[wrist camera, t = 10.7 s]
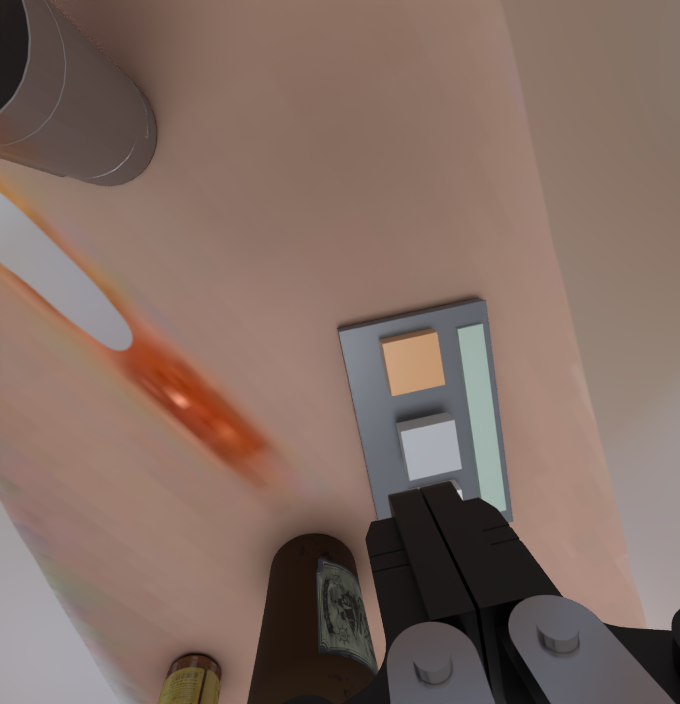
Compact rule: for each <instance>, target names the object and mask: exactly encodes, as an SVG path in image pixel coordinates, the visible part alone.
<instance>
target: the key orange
mask: <svg viewBox="0 0 680 704" xmlns="http://www.w3.org/2000/svg"><path fill="white" fill-rule="evenodd" d="M379 344H380V349H381V354H382V359H383V365H384V370H385V375H386V381H387V386H388V390H389V392H390V394H391V395H392V396H396V395H401V394H405V393H410V392H414V391H419V390H423V389H428V388H432V387H437V386H441V385H445V380H444V373H443V367H442V360H441V354H440V347H439V341H438V334H437V332H436V331H434V330H433V329H431V328H430V329H426V330H421V331H416V332H412V333H407V334H403V335H398V336H394V337H389V338H384V339H380V340H379Z"/></svg>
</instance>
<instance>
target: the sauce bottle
mask: <svg viewBox="0 0 680 704" xmlns="http://www.w3.org/2000/svg"><path fill="white" fill-rule="evenodd" d="M220 674H221V673H220V669H219V667H218V666H217V665H216V664H215V663H214V662H213V661H212V660H211V659H209V658H207V657H205V656H201V655H189V656H186V657H184V658H181V659H179V660H178V661H177V662H175V663H174V664H173V666H172V667H171V668H170V670H169V672H168V674H167V677H166V680H165V682H164V684H163V687H162V691H161V694H160V697H159V701H158V704H218V700H219V694H220Z"/></svg>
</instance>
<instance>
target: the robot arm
mask: <svg viewBox="0 0 680 704" xmlns="http://www.w3.org/2000/svg"><path fill="white" fill-rule="evenodd" d="M156 132H157V129H156V123H155V118H154V115H153V112H152V110H151V107H150V104H149V103H148V101H147V100H146V98H145V96H144V95H143V93H142V92H141V91H140V90H139V89H138V88H137V86H136V85H135V84H134V83H133V82H132V81H131V80H130V79H129V78H128V77H127V76H126V75H125V74H124V73H123V72H122V71H121V70H120V69H119V68H118V67H117V66H116V65H115V64H114V63H113V62H112V61H111V60H110V59H109V58H107V57H106V56H105V55H104V54H103V53H102V52H101V51H100V50H99V49H98V48H97V47H96V46H95V45H94V44H93V43H92V42H91V41H90V40H89V39H88V38H87V37H86V36H85V35H84V34H83V33H82V32H81V31H80V30H79V29H78V28H77V27H76V26H75V25H74V24H73V23H72V22H71V21H69V20H68V19H67V18H66V17H65V16H64V15H63V14H62V13H61V12H60V11H59V10H58V9H57V8H56V7H55V6H54V5H53V4H52V3H51V2H50V1H49V0H0V158H1V159H4V160H7V161H11V162H14V163H17V164H20V165H24V166H27V167H30V168H33V169H37V170H40V171H43V172H46V173H50V174H53V175H56V176H59V177H64V176H69V177H72V178H75V179H78V180H81V181H85V182H88V183H92V184H96V185H100V186H113V185H119V184H123V183H125V182H128V181H130V180H132V179H134V178H135V177H136V176H138V175H139V174H140V173H141V172H142V171H143V170H144V169H145V168H146V166H147V165H148V164H149V162H150V160H151V158H152V156H153V154H154V150H155V145H156ZM388 501H389V506H390V511H391V516H392V517H391V518H386V519H382V520H378V521H373V522H371V524H370V527H369V530H368V533H367V536H366V544H367V549H368V554H369V559H370V564H371V569H372V574H373V579H374V584H375V588H376V593H377V598H378V603H379V608H380V613H381V618H382V623H383V628H384V633H385V638H386V652H385V657H384V661H383V663H382V666H381V668H380V670H379V671H378V673H377V675H376V676H375V677H374V679H373V680H372V681H371V682H370V683H369V684H368V685H367V686H366V687H365V688H364V689H363V690H361V691H360V692H359V693H357V694H356V695H354V696H353V697H351V698H349V699H348V700H346V701H345V702H343V703H342V704H680V609H679V610H678V611H677V612H676V614H675V615H674V617H673V619H672V631H669V630H653V629H638V628H626V627H618V626H614V625H609V624H606V623H603V622H602V621H601V620H600V619H599V618H598V617H597V616H596V615H595V614H594V613H593V612H591V611H590V610H589V609H587V608H586V607H584V606H583V605H581V604H579V603H577V602H575V601H573V600H570V599H567V598H564V597H563V596H562V595H561V594H560V592H559V591H558V589H557V588H556V587H555V585H554V584H553V583H552V581H551V580H550V579H549V577H548V576H547V575H546V573H545V572H544V571H543V569H542V568H541V567H540V565H539V564H538V563H537V561H536V560H535V559H534V557H533V556H532V555H531V553H530V552H529V550H528V549H527V548H526V546H525V545H524V544H523V542H522V541H520V540H519V537H518V536H517V534H516V533H515V532H514V530H513V529H512V528H511V527H510V526H509V524H508V522H507V521H506V520H505V518H504V517H503V516H502V514H501V513H500V511H499V510H498V509H497V508H496V507H494V506H492V505H491V504H489V503H487V502H486V501H484V500H482V499H481V498H479V497H477V498H473V499H469V500H464V501H463V500H462V498H461V497H460V495H459V493H458V492H457V490H456V489H455V487H454V485H453V484H452V482H451V481H446V482H441V483H437V484H433V485H428V486H424V487H420V488H419V489H418V488H416V489H411V490H407V491H402V492H398V493H394V494H389V495H388ZM281 704H334V703H333V702H331V701H330V700H328V699H326V698H324V697H321V696H317V695H301V696H296V697H294V698H291V699H289V700H287V701H285V702H283V703H281Z"/></svg>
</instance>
